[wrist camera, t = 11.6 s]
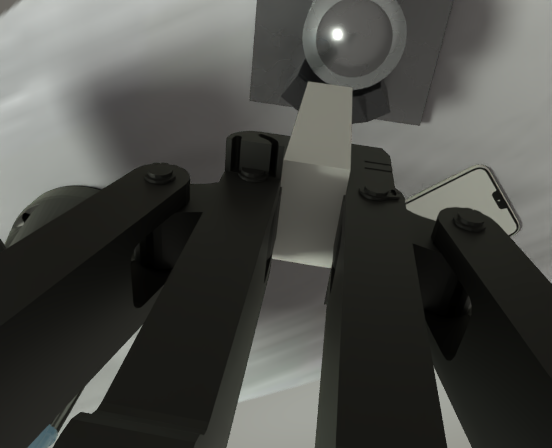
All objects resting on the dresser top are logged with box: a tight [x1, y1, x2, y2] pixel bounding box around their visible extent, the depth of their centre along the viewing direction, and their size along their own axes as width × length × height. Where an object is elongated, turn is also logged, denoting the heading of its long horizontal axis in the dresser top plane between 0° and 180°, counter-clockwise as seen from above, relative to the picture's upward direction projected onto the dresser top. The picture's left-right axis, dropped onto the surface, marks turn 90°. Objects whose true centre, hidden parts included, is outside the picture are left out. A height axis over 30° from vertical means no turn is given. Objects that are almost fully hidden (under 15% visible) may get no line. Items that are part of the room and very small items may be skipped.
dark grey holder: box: [250, 0, 453, 126], centre depth 32 cm, size 13×13×6 cm
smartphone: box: [405, 165, 520, 237], centre depth 43 cm, size 7×1×15 cm
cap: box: [302, 0, 407, 90], centre depth 31 cm, size 6×6×6 cm
